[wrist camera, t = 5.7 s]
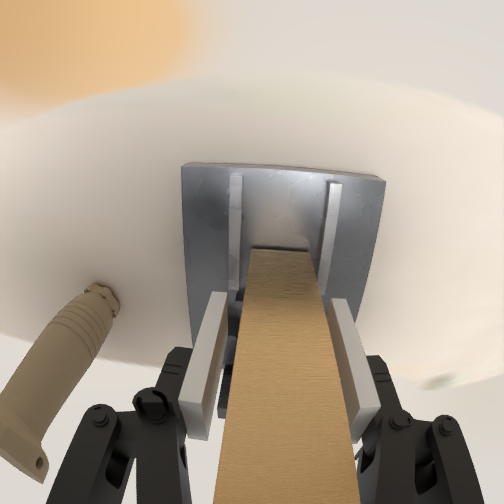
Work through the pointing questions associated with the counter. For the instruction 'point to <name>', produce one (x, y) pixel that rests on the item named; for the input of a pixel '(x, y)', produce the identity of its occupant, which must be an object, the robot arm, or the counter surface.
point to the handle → (52, 377)
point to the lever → (285, 395)
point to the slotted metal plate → (274, 234)
